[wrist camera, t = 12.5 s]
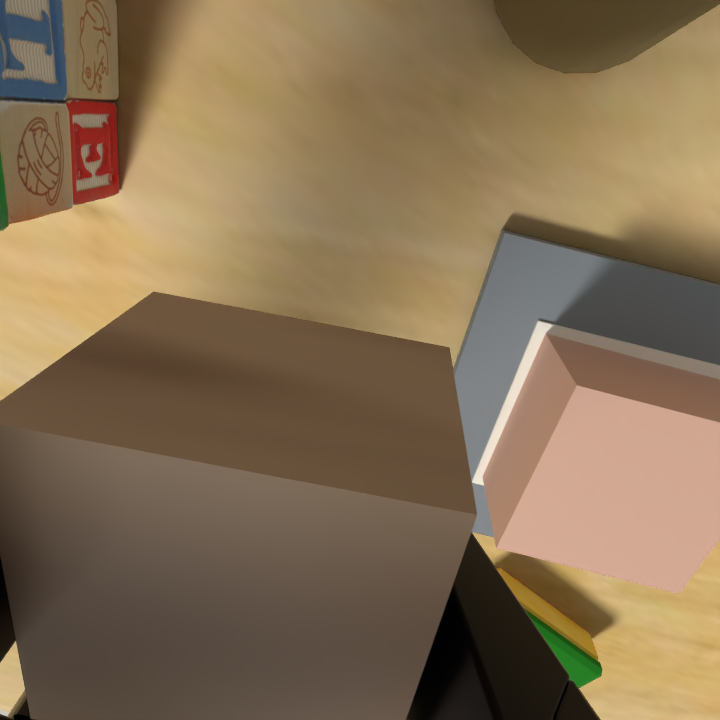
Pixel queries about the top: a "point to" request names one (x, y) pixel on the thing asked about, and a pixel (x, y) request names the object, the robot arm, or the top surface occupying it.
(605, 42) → the cork
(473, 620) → the robot arm
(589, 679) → the dish sponge
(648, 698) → the top surface
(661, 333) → the slate mat
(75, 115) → the stack of blocks
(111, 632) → the walnut cube
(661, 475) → the pink square block
